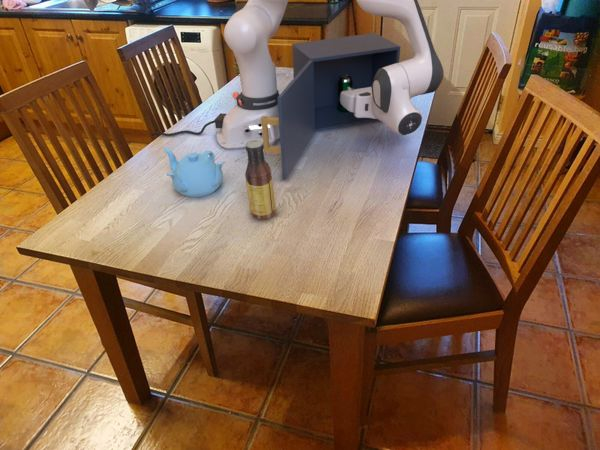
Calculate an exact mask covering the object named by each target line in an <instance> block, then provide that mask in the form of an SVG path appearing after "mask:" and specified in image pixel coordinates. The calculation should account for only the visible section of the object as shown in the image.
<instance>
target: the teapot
mask: <svg viewBox="0 0 600 450" xmlns="http://www.w3.org/2000/svg"><path fill="white" fill-rule="evenodd" d="M163 150H164V151H165V153H166V154H167V156H168V159H169V161H168V162H169V167H170V171H171V172H168V173H167V174H166V176H169V177H170V178H171V181H172V187H173V188H174V190H176V192H177V193H179V194H181V195H182V196H184V197H187V198H203V197H207V196H210V195H211V194H213V193H215V192H216V191H217V190H218V189H219V187H220V186H221V184H222V182H223V179H224V173H223V169H222V168H223V167H222V166H223V165H224V164H226V161H220V162H219V161H218V163H215V162H216V161H215V153H214V152H213V151H211V150H204V152H203V153H201V152H200V153H199V152H190V153H188V154H186V155H184V156H182V157H181V158H180V159H179V160H178V159H177V158H176V155H175V153H174V152H173V151H172V150H171V149H170V148H169V147H164V148H163Z"/></svg>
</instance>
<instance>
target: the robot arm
mask: <svg viewBox="0 0 600 450" xmlns="http://www.w3.org/2000/svg"><path fill="white" fill-rule="evenodd" d="M355 1H356V3H357V5H358V6H359V8H361V10H362V11H364V12H365V13H367V14H370V15H372V16H375V17H382V18H383V17H384V18H388V19H389V18H390V19H394V20H397V21H398V22H400V23H401V24H402V25H403V27H404V29H405V31H406V34H407V38H408V40H409V44H410V46H411V48H412V51H413V57H412V58H409V59H405V60H403V61H399V63H395V64H392V65H389V66H386V67H383V68H380V69H379V70H378V71H377V73H376V75H375V77H374V79H373V82H372V87H367V88H360V89H354V88H353V87H347V91H342V92H341V94H340V103H341V105H342V106H343V107H344V108H346V109H347V110H348V111H350V112H353V113H354V116H355V117H357V118H373V119H378V120H380V121H379V122H382V123H383V125H384V126H385V127H386V128H387V129H388V130H390V131H391V132H393V133H394V134H397V135H399V136H407V135H411V134H412V133H414V132H416V131H417V130H418V129H419V127H420V126H421V124H422V122H423V115H422V113H421V111H419V109H418V108H417V107H416V106H415V105H414V104H413V102H412V100H411V99H412V98H414V97H418V96H422V95H423V96H424V95H428V94H431V93H432V94H433V93H434V92H436V91H437V90H438V88H440V86H441V84H442V82H443V80H444V76H445V73H444V71H445V70H444V67H443V65H442V62H441V60H440V57H439V56H438V54H437V51H436V50H435V47H434V44H433V41H432V38H431V35H430V31H429V29H428V25H427V23H426V21H425V20H426V19H425V16H424V14H423V11H422V9H421V6H420V3H419V1H418V0H355ZM288 3H289V0H247V2H246V4H245V5H244V6H243V8H240V10H238V11H236V12H234V13H233V14H232V15H231V16H230V17H229V19H228V20H227V23H226V24H225V26H224V30H223V38H224V41H225V43H226V45H227V47H228V48H229V49H230V50H231V51H232V52H233V55H234V57H235V60H236V63H237V64H238V65H237V68H238V69H239V72H240V74H239V75H240V76H239V79H240V80H241V81H240V87H241V92H240V93H239V92H237V91H233V93H232V98H233V99H234V101H235V100H236V105H235V106H234V107H233V108H232V109H230V111H228V112H227V113H224V112H223V113H222V112H221V113H219V114H218V115H217V116H216V117H215V118H214V120H211V121H209V122H207V123H205V124H204V125H203V127H202V128H201V130H200V131H199V132H196V131H192V130H179V131H176V132H171V133H166V132H161V131H154V132H152V133H151V134H150V137H155V135H161V136H164V137H171V136H176V135H180V134H192V135H195V136H199V135H202V134H203V133H204V131H205V129H206V128H207V127H208V126H210V125H212V124H214V126H215V129H218V130H217V132H216V141H217V143H218V144H219V146H221V147H222V148H224V149H227V150H232V149H241V148H242V149H243V148H246V143H247V142H248V141H250V140H256V139H257V140H261V141H262V142H263V134H262V123H261V117H263V116H266V117H277V118H279V114H278V100H277V97H278V96H279V95H280V92H279V89H278V82H277V67H276V64H275V63H274V61H273V59H272V57H271V53H270V49H269V41H270V40H271V39H272V38H273V37H275V35H276V33H277V32H278V30H279V28H280V25H281V23H282V20H283V17H284V14H285V11H286V10H287V6H288ZM268 134H269V145H271V146H274V144H275V143H276V142H277V141H278V140H280V129H279V126H276V125H268Z"/></svg>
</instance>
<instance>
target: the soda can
mask: <svg viewBox="0 0 600 450" xmlns="http://www.w3.org/2000/svg"><path fill="white" fill-rule="evenodd" d="M352 84H353V79H352V76H350V75H340V76H339V79H338V99H337V109H338V111H340V112H343V113H346V112H349V111H348V110H347V109H346V108H344V107H343V106H342V105H341V103H340V94H341V92H342V91H347V87H352Z"/></svg>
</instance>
